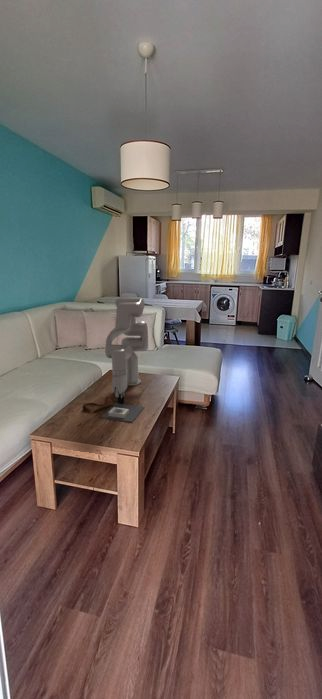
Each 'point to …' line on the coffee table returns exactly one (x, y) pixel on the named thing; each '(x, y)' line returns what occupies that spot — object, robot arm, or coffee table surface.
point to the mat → (132, 414)
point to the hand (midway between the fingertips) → (121, 403)
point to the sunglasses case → (98, 405)
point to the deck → (118, 412)
